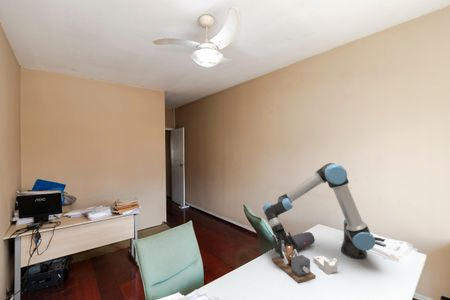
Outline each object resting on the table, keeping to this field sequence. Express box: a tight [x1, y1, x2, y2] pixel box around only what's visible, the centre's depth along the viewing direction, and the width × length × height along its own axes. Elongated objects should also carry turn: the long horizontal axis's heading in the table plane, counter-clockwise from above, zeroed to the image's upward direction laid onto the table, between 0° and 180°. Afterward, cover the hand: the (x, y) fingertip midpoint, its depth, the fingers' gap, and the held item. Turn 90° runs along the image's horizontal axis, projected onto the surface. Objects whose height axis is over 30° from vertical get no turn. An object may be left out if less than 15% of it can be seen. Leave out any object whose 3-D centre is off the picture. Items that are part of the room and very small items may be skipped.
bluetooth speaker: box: [283, 231, 316, 252], centre depth 149 cm, size 23×9×10 cm, turn 120°
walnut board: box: [271, 254, 316, 284], centre depth 124 cm, size 24×12×2 cm, turn 23°
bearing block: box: [291, 254, 311, 277], centre depth 118 cm, size 6×8×8 cm
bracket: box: [312, 255, 339, 275], centre depth 126 cm, size 13×7×8 cm, turn 9°
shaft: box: [285, 245, 311, 273], centre depth 121 cm, size 17×5×10 cm, turn 23°
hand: (293, 262), depth 123 cm, fingers open, 8 cm apart
